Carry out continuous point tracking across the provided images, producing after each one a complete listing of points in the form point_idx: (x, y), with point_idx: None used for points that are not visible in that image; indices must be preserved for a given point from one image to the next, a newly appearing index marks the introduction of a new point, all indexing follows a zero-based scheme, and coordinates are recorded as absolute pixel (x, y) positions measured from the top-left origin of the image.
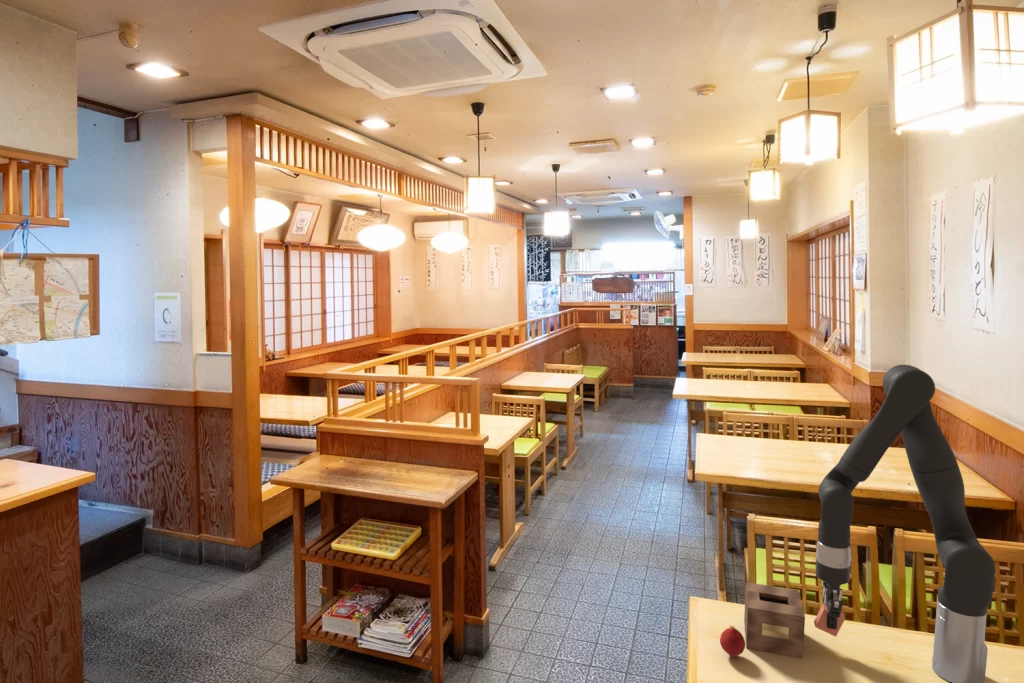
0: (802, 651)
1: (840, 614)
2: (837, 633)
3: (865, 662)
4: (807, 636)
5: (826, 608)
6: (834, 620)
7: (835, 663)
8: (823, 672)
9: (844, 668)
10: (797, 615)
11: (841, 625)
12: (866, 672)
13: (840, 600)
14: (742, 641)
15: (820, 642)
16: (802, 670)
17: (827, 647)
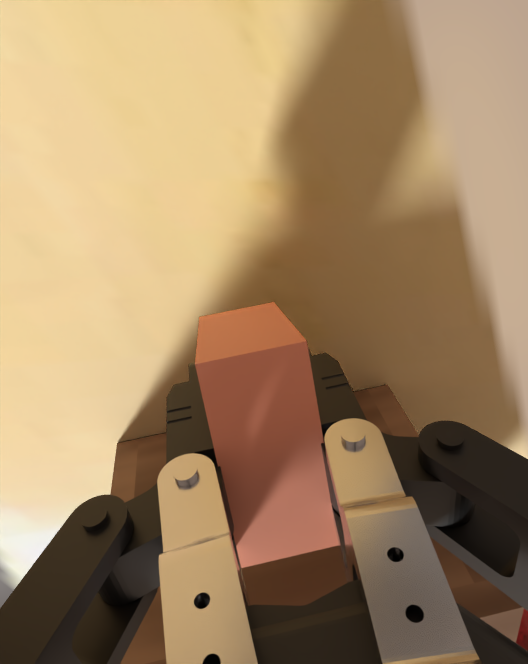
0: (403, 412)
1: (263, 391)
2: (278, 308)
3: (277, 62)
4: (158, 391)
5: (301, 527)
6: (359, 410)
7: (367, 244)
8: (469, 294)
9: (399, 197)
10: (513, 637)
11: (290, 323)
12: (397, 62)
13: (446, 588)
14: (526, 622)
15: (182, 329)
16: (479, 373)
17: (216, 292)
